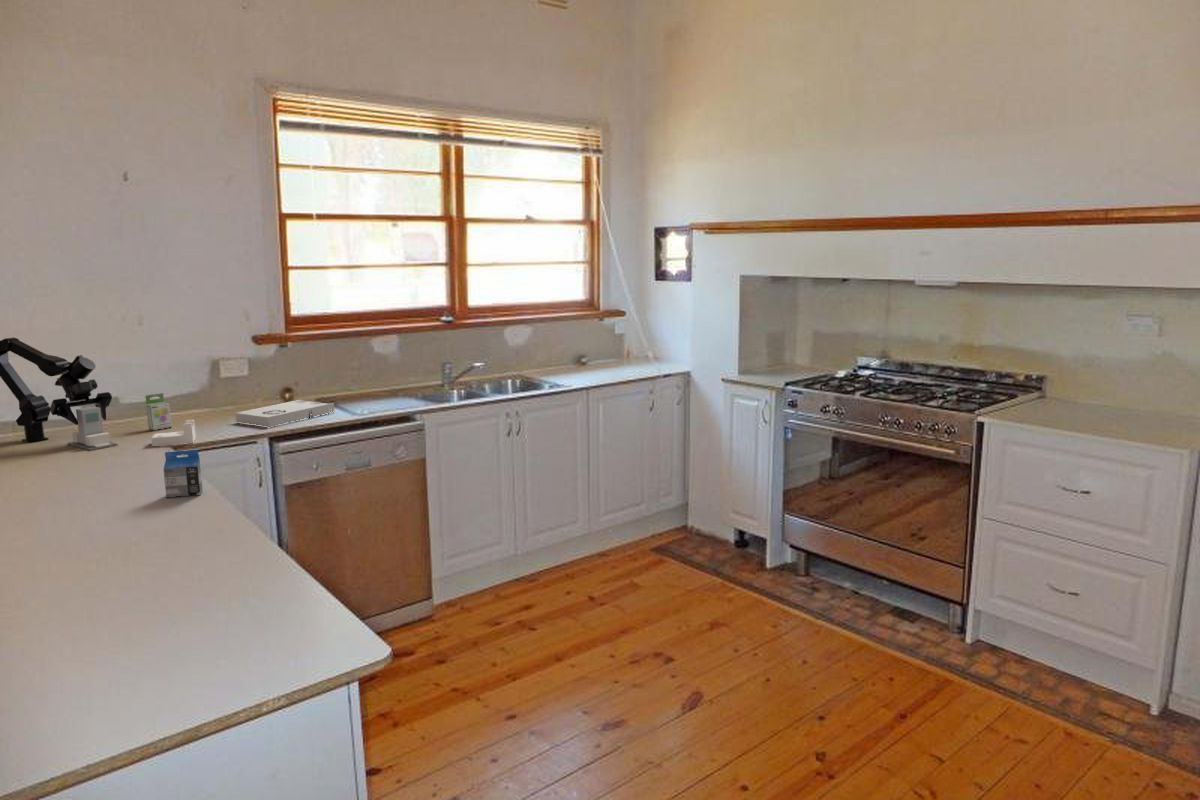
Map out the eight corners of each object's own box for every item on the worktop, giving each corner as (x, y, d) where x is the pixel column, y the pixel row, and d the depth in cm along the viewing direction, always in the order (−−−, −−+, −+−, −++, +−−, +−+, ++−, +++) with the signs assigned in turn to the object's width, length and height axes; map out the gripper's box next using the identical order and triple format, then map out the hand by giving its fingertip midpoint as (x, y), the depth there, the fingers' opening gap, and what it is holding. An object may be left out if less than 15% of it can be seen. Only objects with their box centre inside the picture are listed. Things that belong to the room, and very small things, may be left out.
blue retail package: (165, 498, 230) (161, 455, 228) (169, 494, 234) (164, 451, 232) (200, 495, 232) (196, 452, 230) (203, 491, 236) (199, 449, 234)
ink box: (153, 431, 315) (149, 396, 313) (148, 430, 318) (144, 395, 315) (172, 428, 321) (168, 393, 318) (167, 426, 323) (163, 392, 321)
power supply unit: (334, 414, 347) (333, 402, 346) (268, 430, 319) (267, 417, 318) (302, 410, 356) (302, 399, 355) (236, 425, 328) (235, 412, 327)
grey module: (80, 442, 293) (75, 409, 291) (98, 439, 298) (94, 406, 295) (86, 444, 290) (82, 410, 288) (104, 441, 295) (100, 407, 293)
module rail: (67, 444, 295) (66, 432, 295) (94, 439, 303) (93, 427, 302) (90, 450, 286) (88, 438, 285) (117, 445, 293) (116, 433, 292)
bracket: (196, 440, 301) (194, 419, 300) (193, 444, 294) (191, 423, 293) (156, 443, 297) (153, 422, 296) (152, 447, 290) (150, 426, 289)
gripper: (49, 376, 284) (67, 411, 280) (106, 369, 299) (125, 403, 295) (42, 397, 290) (60, 432, 286) (98, 389, 305) (117, 422, 301)
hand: (91, 421), depth 292 cm, fingers open, 9 cm apart
